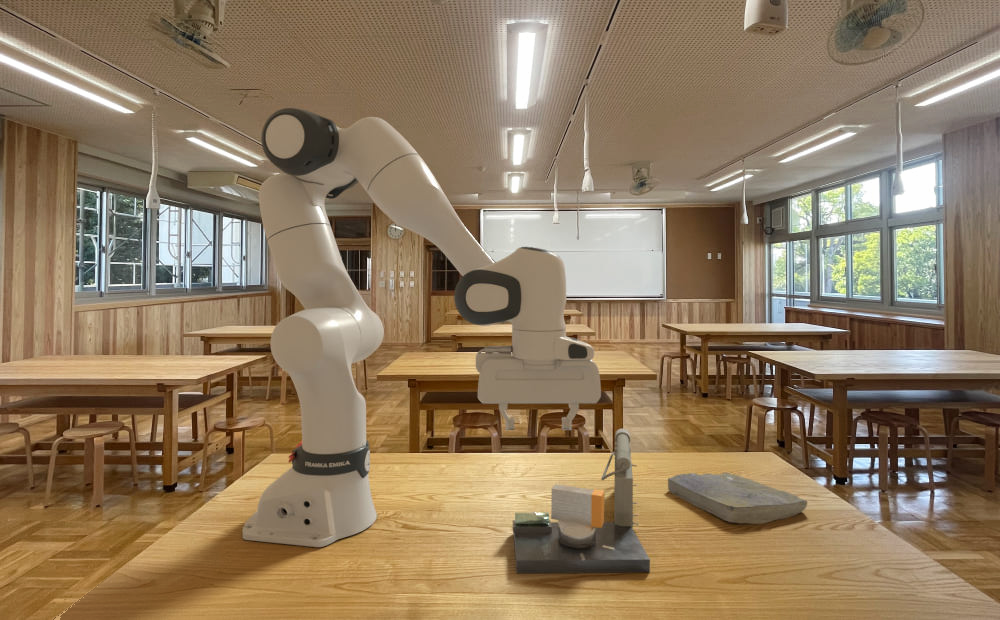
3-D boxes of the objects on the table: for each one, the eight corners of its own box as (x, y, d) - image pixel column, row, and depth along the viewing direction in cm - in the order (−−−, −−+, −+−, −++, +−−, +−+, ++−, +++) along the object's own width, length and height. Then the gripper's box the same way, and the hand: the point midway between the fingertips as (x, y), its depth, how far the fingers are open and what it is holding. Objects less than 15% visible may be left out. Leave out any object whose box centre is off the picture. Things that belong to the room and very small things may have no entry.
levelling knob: (547, 542, 82) (548, 493, 81) (557, 525, 87) (557, 479, 87) (598, 552, 79) (599, 501, 78) (605, 534, 84) (606, 486, 84)
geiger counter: (639, 461, 86) (634, 420, 111) (600, 458, 88) (604, 419, 112) (639, 541, 87) (634, 484, 111) (600, 538, 89) (604, 482, 113)
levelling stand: (515, 573, 77) (515, 541, 77) (512, 533, 89) (512, 505, 89) (649, 572, 77) (650, 540, 77) (628, 533, 89) (629, 504, 89)
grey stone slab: (723, 482, 115) (661, 489, 109) (725, 462, 115) (663, 468, 108) (806, 524, 97) (738, 535, 90) (809, 500, 96) (740, 510, 90)
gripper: (474, 348, 81) (474, 435, 82) (603, 348, 82) (602, 434, 82) (476, 343, 88) (476, 423, 88) (595, 344, 88) (594, 423, 89)
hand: (538, 429), depth 85 cm, fingers open, 8 cm apart
